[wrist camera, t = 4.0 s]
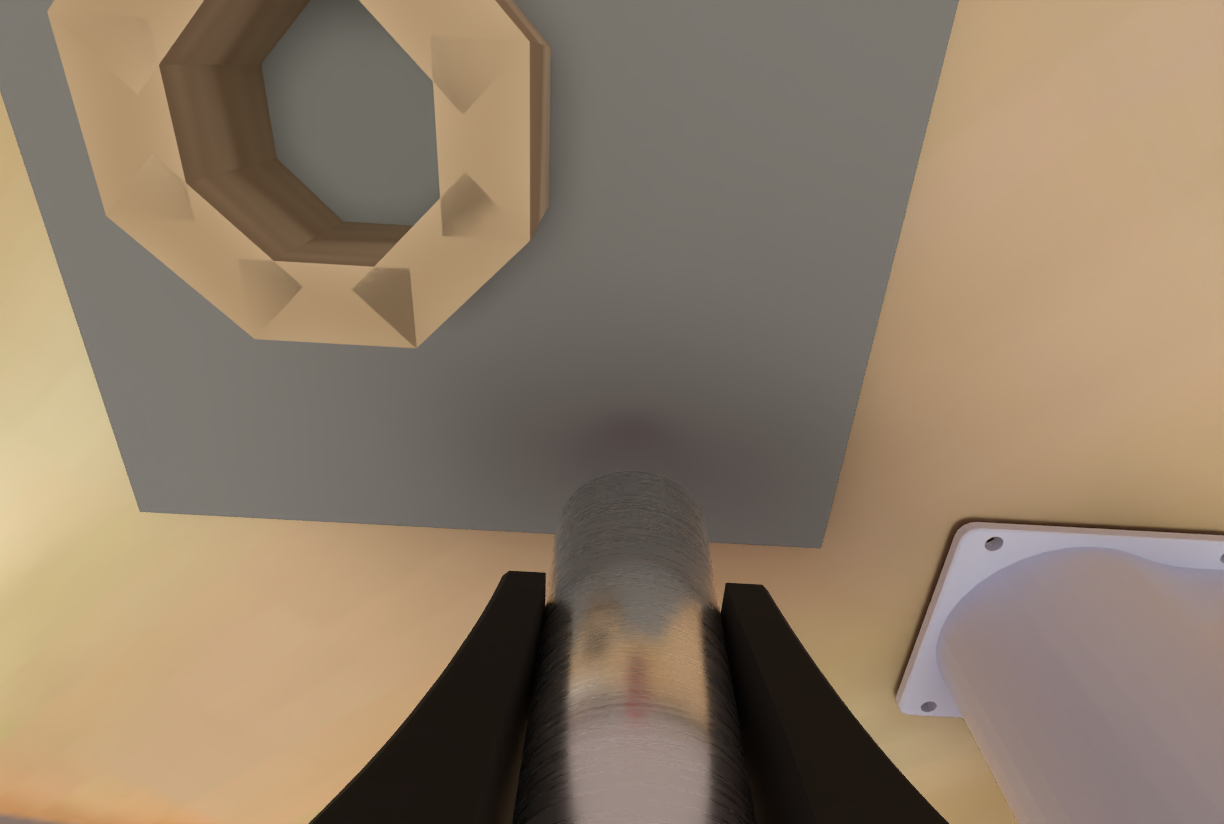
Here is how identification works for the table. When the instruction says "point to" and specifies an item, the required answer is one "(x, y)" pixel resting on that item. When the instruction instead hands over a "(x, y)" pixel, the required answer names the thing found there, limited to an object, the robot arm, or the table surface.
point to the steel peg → (632, 669)
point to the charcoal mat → (534, 273)
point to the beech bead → (272, 195)
